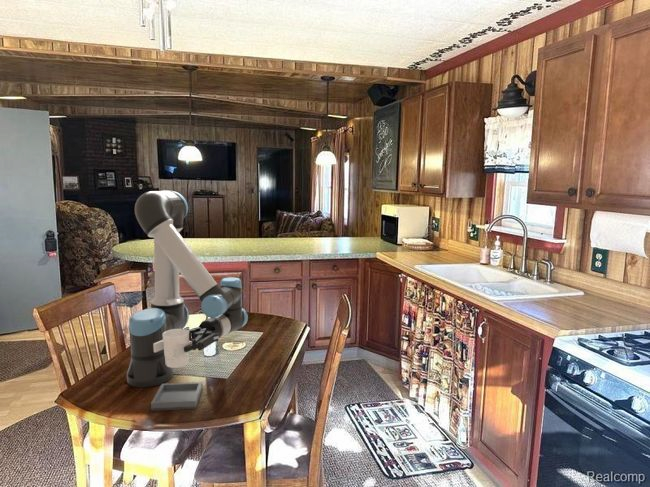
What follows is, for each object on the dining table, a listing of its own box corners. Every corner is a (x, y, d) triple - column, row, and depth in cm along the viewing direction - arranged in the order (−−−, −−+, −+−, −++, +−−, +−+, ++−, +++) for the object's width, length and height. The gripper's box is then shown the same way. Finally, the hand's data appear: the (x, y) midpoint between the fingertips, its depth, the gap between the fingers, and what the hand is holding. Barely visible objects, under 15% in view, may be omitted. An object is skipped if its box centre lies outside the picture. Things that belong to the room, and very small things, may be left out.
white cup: (180, 356, 146) (179, 326, 145) (195, 363, 141) (194, 332, 140) (158, 364, 140) (157, 333, 139) (172, 371, 135) (171, 339, 134)
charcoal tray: (162, 390, 148) (161, 383, 148) (202, 389, 150) (202, 381, 149) (151, 410, 135) (150, 403, 135) (195, 408, 137) (195, 401, 136)
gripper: (238, 343, 152) (191, 368, 132) (191, 334, 161) (140, 356, 141) (238, 322, 151) (190, 344, 131) (191, 313, 160) (139, 333, 140)
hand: (164, 350), depth 136 cm, fingers closed on white cup, 7 cm apart
